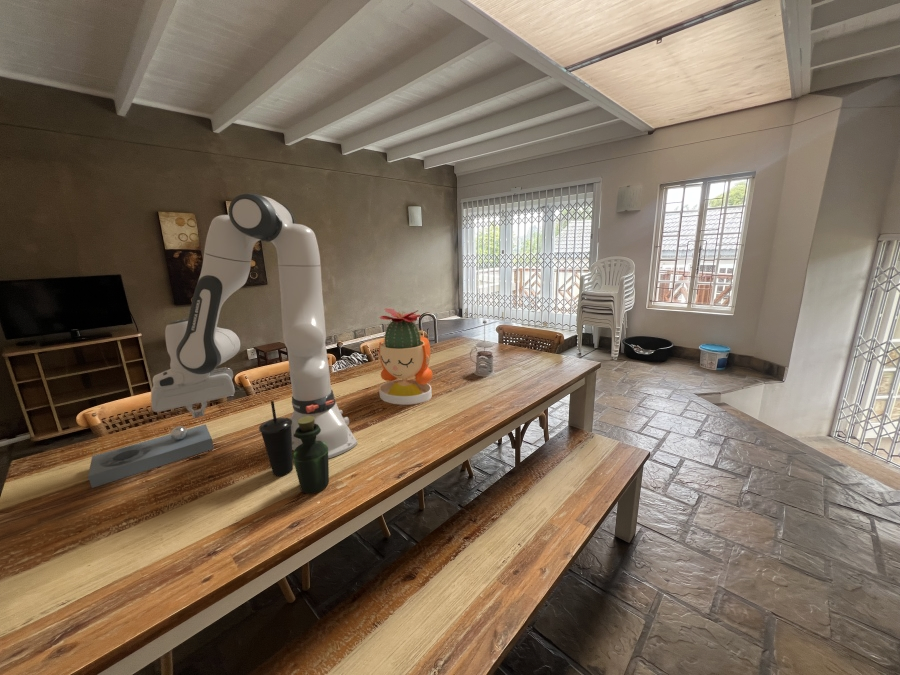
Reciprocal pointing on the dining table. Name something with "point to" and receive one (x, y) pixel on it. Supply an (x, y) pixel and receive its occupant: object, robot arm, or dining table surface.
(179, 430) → the ball
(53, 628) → the dining table surface
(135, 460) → the grey flat block
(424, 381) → the potted cactus
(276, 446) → the drinking cup
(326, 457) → the potion bottle
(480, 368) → the french press
